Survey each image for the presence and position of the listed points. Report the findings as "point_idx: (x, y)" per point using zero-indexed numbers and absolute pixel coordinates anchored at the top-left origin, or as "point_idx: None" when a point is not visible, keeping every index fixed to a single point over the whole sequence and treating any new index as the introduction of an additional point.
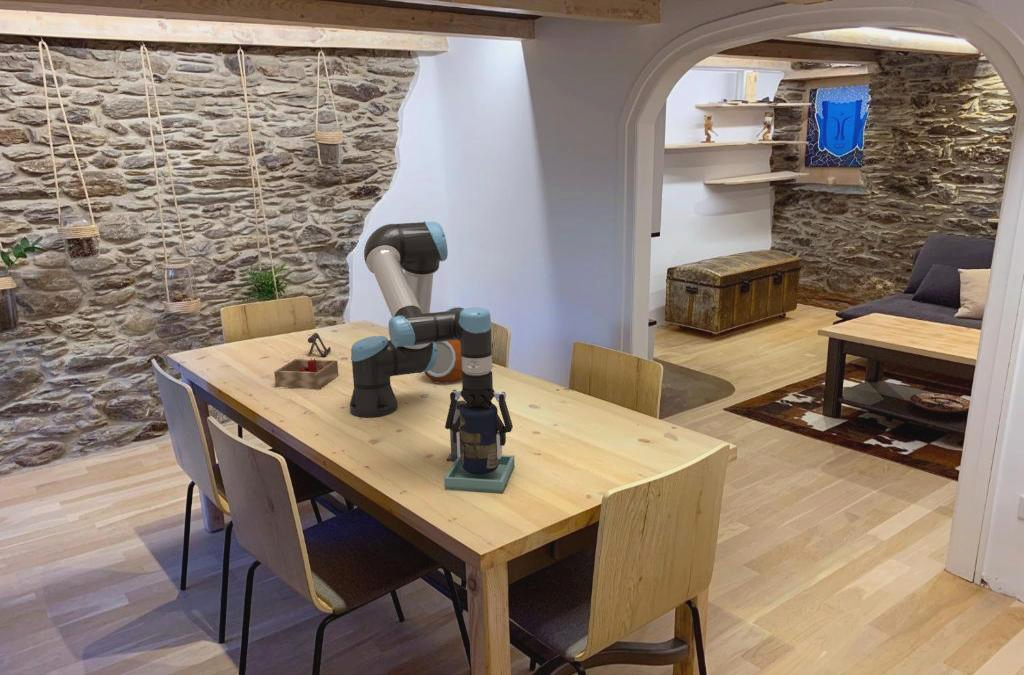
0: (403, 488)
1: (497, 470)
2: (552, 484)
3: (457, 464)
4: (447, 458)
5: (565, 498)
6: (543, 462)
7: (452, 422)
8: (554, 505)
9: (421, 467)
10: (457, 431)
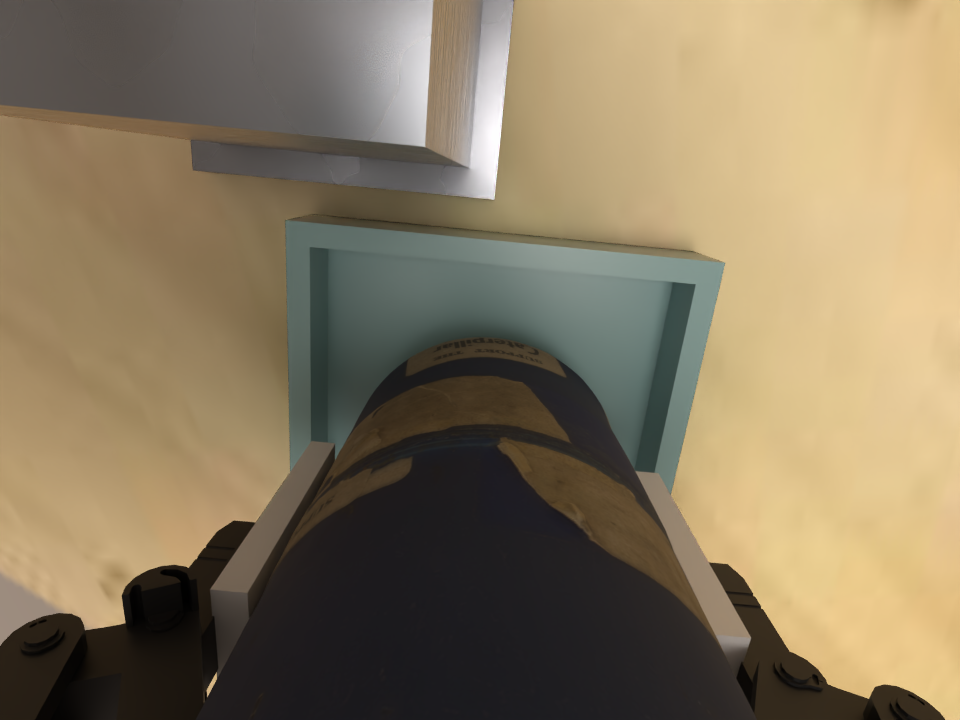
0: (97, 549)
1: (585, 363)
2: (903, 482)
3: (315, 386)
4: (197, 165)
5: (938, 618)
6: (909, 165)
7: (68, 661)
8: (868, 676)
9: (73, 289)
10: (218, 663)
